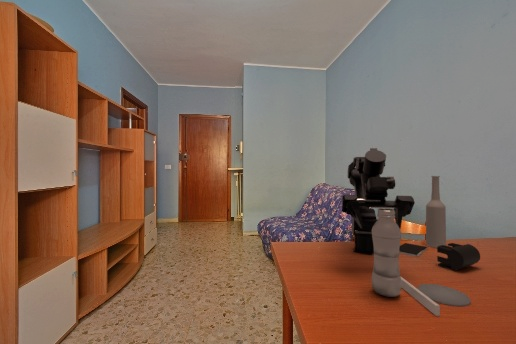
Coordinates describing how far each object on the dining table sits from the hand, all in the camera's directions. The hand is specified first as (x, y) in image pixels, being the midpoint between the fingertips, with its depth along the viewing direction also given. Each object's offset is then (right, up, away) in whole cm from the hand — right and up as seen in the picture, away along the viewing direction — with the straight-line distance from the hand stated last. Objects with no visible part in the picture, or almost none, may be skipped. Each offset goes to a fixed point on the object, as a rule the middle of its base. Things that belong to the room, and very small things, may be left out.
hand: (380, 228), depth 66 cm
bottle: (+38, -15, +32) cm, 52 cm away
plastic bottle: (-3, -14, -8) cm, 16 cm away
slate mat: (+10, -14, -8) cm, 19 cm away
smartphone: (+25, -15, +27) cm, 39 cm away
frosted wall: (+3, -14, -8) cm, 16 cm away
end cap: (+29, -14, +10) cm, 33 cm away
